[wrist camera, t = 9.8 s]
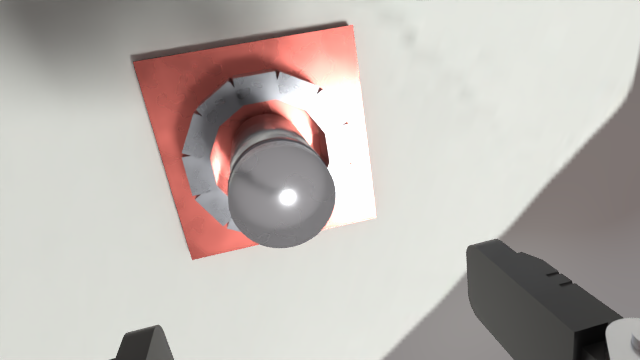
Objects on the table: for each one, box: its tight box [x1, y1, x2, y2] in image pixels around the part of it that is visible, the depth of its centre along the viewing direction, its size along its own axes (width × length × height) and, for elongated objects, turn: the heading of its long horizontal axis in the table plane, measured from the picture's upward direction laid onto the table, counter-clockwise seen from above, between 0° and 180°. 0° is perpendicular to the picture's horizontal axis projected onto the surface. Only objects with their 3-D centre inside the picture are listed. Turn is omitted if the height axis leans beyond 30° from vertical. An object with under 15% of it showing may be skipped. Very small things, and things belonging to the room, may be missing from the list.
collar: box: [133, 25, 376, 260], centre depth 28 cm, size 14×14×4 cm
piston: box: [228, 114, 336, 248], centre depth 24 cm, size 5×5×10 cm
